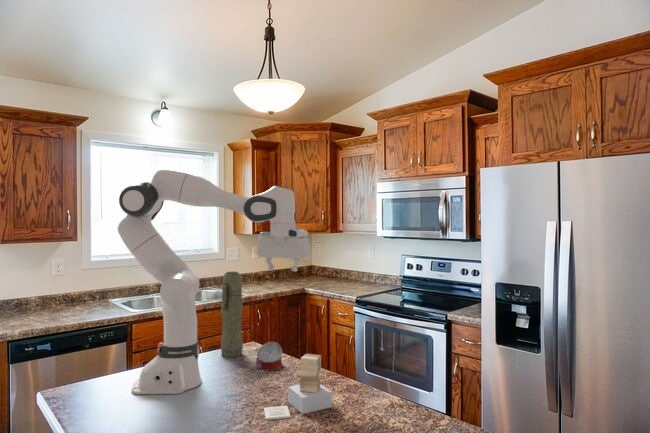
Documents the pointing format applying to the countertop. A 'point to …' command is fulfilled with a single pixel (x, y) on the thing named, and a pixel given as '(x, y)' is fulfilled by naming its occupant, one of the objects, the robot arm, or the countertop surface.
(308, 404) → the grey-blue block
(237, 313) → the thermos
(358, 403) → the countertop surface
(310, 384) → the maple block
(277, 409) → the picture tile
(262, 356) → the canned food
